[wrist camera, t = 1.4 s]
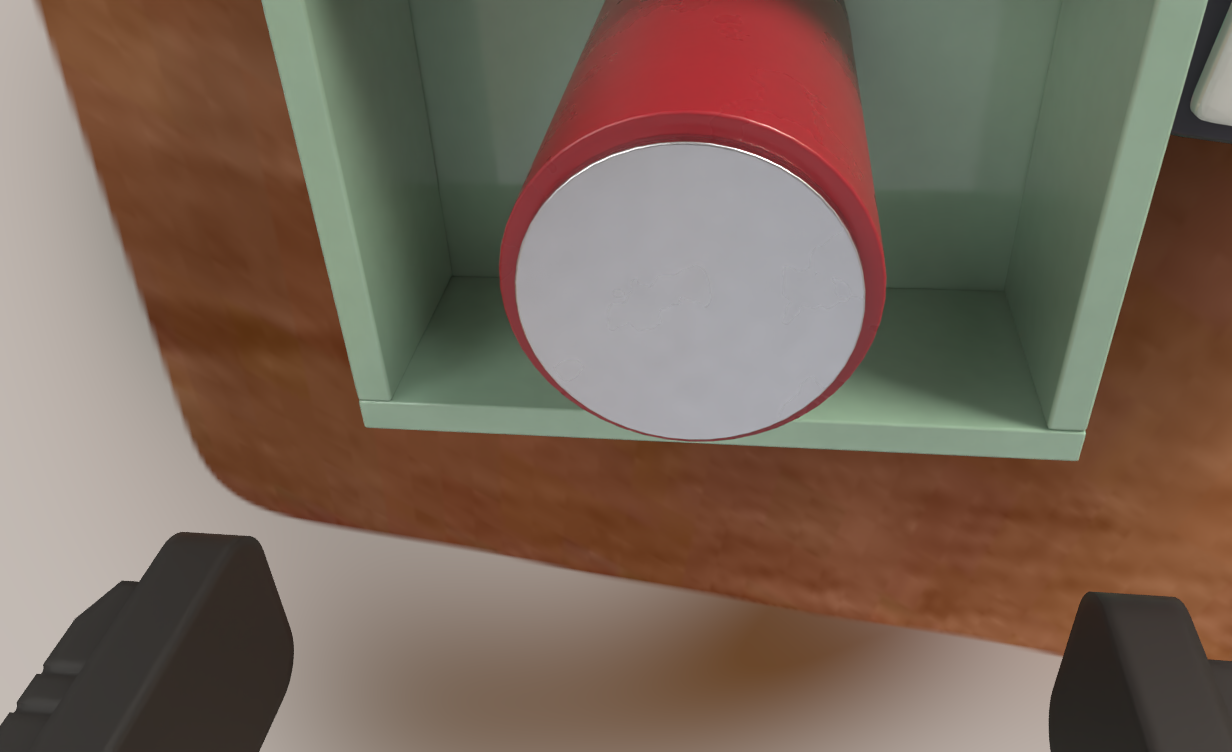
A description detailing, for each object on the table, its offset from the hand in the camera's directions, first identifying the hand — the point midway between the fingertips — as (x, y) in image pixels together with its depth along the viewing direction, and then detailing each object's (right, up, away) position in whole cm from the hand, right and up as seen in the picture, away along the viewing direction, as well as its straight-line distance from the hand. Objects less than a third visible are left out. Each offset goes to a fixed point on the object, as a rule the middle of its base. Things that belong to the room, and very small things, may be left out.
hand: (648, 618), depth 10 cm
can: (+2, +10, +13) cm, 16 cm away
